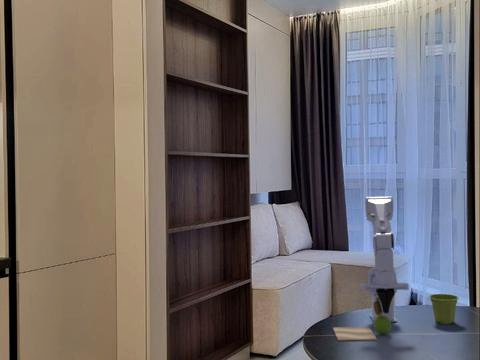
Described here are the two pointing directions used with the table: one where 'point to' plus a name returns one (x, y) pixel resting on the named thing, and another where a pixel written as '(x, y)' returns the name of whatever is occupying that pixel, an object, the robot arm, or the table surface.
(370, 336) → the cork mat
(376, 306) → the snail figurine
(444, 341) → the table surface
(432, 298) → the plant pot
